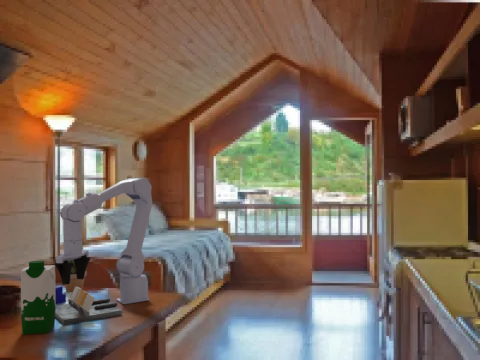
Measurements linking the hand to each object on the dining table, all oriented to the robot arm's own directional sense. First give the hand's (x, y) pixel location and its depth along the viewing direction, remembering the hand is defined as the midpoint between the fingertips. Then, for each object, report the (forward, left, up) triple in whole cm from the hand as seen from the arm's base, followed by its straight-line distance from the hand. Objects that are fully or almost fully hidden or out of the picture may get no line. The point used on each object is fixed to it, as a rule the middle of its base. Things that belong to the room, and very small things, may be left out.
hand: (73, 281), depth 152 cm
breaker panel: (-3, +3, -10) cm, 11 cm away
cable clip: (+4, -20, -11) cm, 23 cm away
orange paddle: (-1, +3, -8) cm, 8 cm away
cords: (-8, +3, -9) cm, 12 cm away
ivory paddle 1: (-1, -4, -8) cm, 9 cm away
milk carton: (+13, +13, -10) cm, 21 cm away
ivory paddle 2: (-1, +10, -8) cm, 13 cm away
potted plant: (-9, -32, -10) cm, 35 cm away
